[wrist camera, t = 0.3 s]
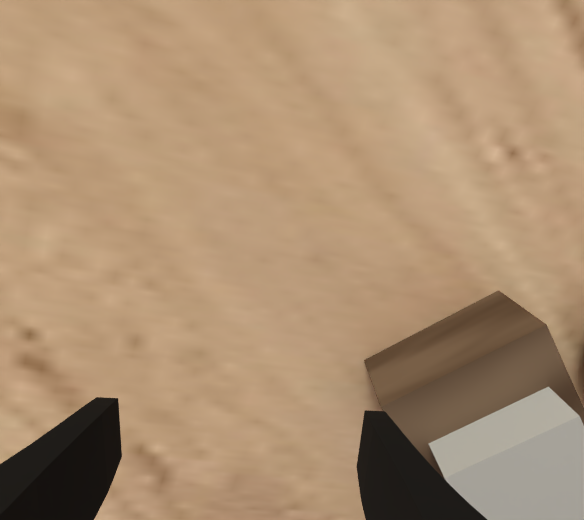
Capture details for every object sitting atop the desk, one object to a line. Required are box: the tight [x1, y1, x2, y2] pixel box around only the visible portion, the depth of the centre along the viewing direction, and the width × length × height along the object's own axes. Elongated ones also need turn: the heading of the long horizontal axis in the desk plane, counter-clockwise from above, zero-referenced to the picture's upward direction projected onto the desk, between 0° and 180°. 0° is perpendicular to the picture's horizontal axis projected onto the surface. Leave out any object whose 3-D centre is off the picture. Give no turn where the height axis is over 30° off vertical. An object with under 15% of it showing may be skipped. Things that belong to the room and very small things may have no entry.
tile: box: [429, 387, 584, 520], centre depth 18 cm, size 6×6×2 cm
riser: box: [364, 291, 584, 479], centre depth 21 cm, size 10×8×4 cm
